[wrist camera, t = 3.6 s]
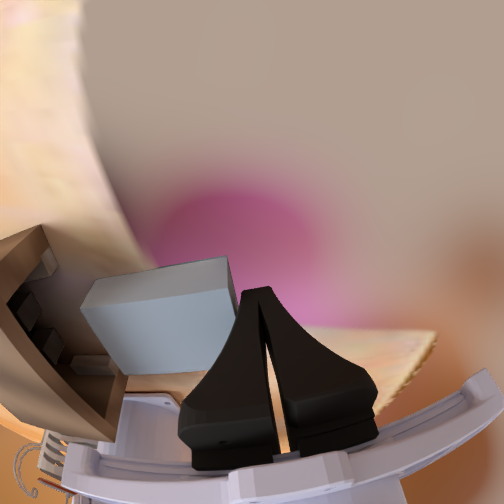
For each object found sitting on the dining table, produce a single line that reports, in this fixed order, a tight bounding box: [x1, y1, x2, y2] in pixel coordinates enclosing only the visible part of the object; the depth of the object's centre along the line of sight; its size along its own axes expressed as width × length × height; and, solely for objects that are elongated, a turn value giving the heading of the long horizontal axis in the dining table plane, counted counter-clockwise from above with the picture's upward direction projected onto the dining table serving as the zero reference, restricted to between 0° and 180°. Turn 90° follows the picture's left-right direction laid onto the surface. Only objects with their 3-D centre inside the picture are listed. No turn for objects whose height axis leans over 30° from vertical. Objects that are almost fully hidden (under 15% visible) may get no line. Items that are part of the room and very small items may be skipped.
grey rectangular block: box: [79, 255, 239, 375], centre depth 13 cm, size 5×7×2 cm
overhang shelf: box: [0, 225, 128, 443], centre depth 11 cm, size 12×10×6 cm
